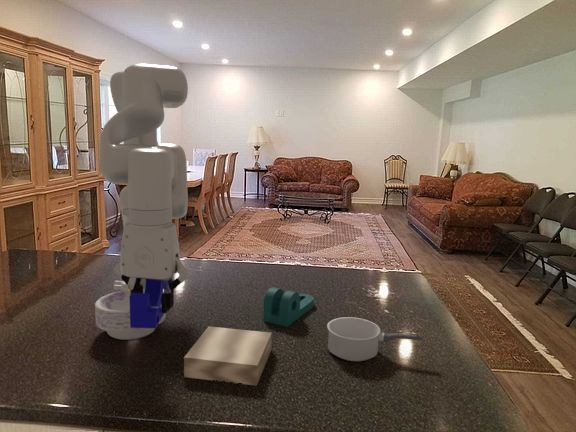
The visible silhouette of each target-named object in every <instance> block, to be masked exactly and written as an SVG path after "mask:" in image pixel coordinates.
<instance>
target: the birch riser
mask: <svg viewBox="0 0 576 432" xmlns="http://www.w3.org/2000/svg"><path fill="white" fill-rule="evenodd" d="M272 333H273V332H270V331H269V332H268V331H259V330H249V329H248V330H247V329H238V328H228V327H219V326H218V327H217V326H209V325H208V327H207V328H206V329H205V330H204V332H203V333H202V334H201V335H200V337H199V338H198V339H197V340H196V341H195V343H194V344H193V345H192V347H191V348H190V349H189V350H188V352H187V353H186V354H185V355H184V357H183V377H184V378H189V379H197V380H198V379H199V380H207V381H213V380H215V381H214V382H222V381H225V382H224V383H230V382H233V383H232V384H238V383H242V384H241V385H246V386H247V385H249V386H258V384H259V382H260V379H261V377H262V373H263V372H264V370H265V367H266V364H267V362H268V359H269V357H270V354H271V352H272V340H273V339H272V335H273V334H272ZM216 380H217V381H216Z"/></svg>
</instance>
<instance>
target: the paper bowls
mask: <svg viewBox="0 0 576 432" xmlns="http://www.w3.org/2000/svg"><path fill="white" fill-rule="evenodd" d="M144 292H145V289H143V293H144ZM130 295H131V292H130V290H123V291H121V290H119V291H118V290H117V291H114V292H112V293H108V294H106V295H103V296H101V297H99V298H98V299H97V300H96V301H95V303H94V307H95V308H94V311H95V312H94V314H95V315H94V316H95V317H94V318H95V324H96V327H97V328H99V329H100V330H101V331H105V332H107V334H108V335H109V337H112V338H114V339H117V340H122V341H123V340H127V341H128V340H136V339H141V338H144V337H147V336H149V335H150V334H152V333H153V332H154V331H155V330H156V329H157V327H156V328H130V297H129V296H130ZM161 307H162V304H161ZM166 317H167V313H164V315H163V316H162V318H161V320H160V322H159V324H161V323H163V322H164V321H165V320H166ZM159 324H158V325H159Z"/></svg>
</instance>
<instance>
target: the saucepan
mask: <svg viewBox="0 0 576 432" xmlns="http://www.w3.org/2000/svg"><path fill="white" fill-rule="evenodd" d="M326 328H327V330H328V335H327V336H328V338H327V349H328V350H329V353H331V354H333V356H336V357H338V358H340V359H342V360H343V361H345V360H346V361H350V362H363V361H364V362H365V361H367V360H370V359H372V358H374V357H376V356H377V354H378V351H379V342H383V343H390V342H391V341H393V340H396V339H399V340H400V339H401V340H413V341H414V340H416V341H417V340H418V341H424V336H423V335H422V334H409V333H399V332H395V333H393V332H392V333H387V332H382V329H381V328H380V326H379V325H378V324H376V323H375V322H373V321H371V320H368V319H365V318H359V317H355V316H354V317H353V316H349V317H348V316H347V317H346V316H344V317H338V318H337V317H336V318H335V319H331V320H330V321H328V323H327V324H326Z"/></svg>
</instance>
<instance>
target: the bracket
mask: <svg viewBox="0 0 576 432" xmlns="http://www.w3.org/2000/svg"><path fill="white" fill-rule="evenodd" d="M314 298H315V297H313V296H312V295H310V294H307V293H299V292H297V291H294V290H293V291H292V290H286V291H284V289H282V288H279V287H273V286H271V287H270V288H269V289H268V290H267V291H266V294H264V298H263V309H262V311H263V314H262V315H263V316H262V317H263V318H262V321H263V322H266V323H268V324H269V323H270V324H274V325H277V326H280V327H285V328H288V327H290V325H292V324H293V323H294V322H296V321H297V320H298V319H300V318H301V317H302V316H303V315H305V314H306V313H307V312H309V311H310V310H311V309H312V308H314V306H315V305H314V304H315V303H314V302H315V300H314Z"/></svg>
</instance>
